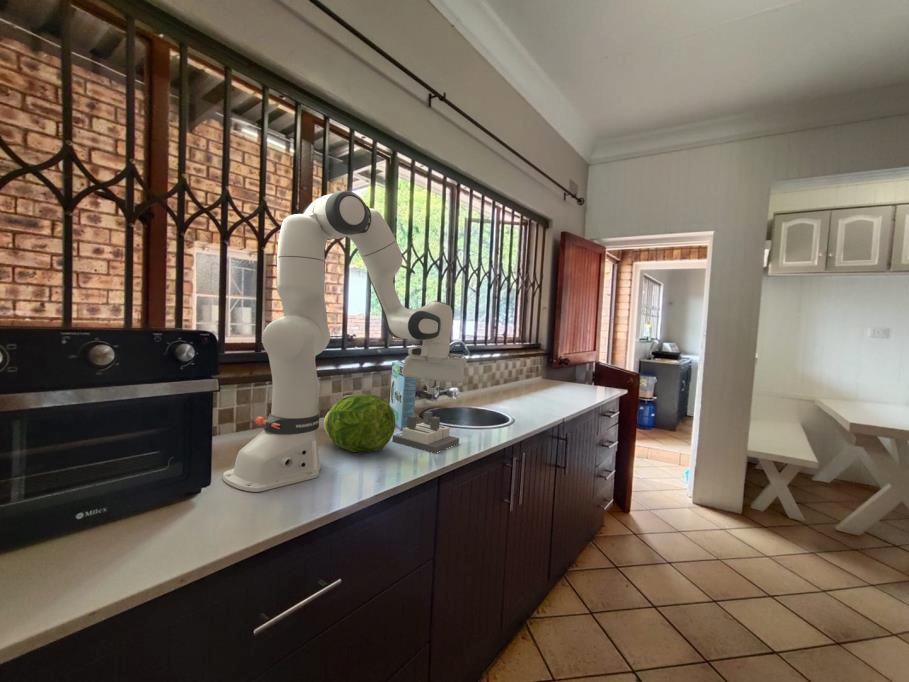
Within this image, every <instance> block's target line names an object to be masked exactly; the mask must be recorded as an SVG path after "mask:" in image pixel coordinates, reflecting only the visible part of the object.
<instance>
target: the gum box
mask: <svg viewBox="0 0 909 682" xmlns="http://www.w3.org/2000/svg"><path fill="white" fill-rule="evenodd" d="M403 365H404V362H403V361H391V376H390V377H391V381H390V393H389V395H390V397H389V405H390V406H391V408H392V410H393V412H394V415H395V426H396V427H397V428H399V430H401V431H403V428H406V427H407V418H408V416H411V415H413V416H415V406H416V391H417V389H416V388H417V378H410V377H404V376H403V375H402V370H403Z"/></svg>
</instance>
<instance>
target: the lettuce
mask: <svg viewBox="0 0 909 682" xmlns="http://www.w3.org/2000/svg"><path fill="white" fill-rule="evenodd" d="M352 395H353V396H348V397H345V398H343V397H342V398H341V399H340V400H338V401H337V402H336V403H335V404H333V405H332V406H331V408H330V410H329V411H327V413H326V415H325V417H324V419H323V429H324V431H325V433H326V434H327V436H328V438H329V439H330V440H331V441H332V442H333V443H334V444H335V445H336V446H337V447H340V448H341V449H345V450H346V451H350V452H352V453H357V454H361V453H362V454H363V453H365V454H366V453H370V452H375V451H378V450H381V449H383V448H384V447H385V446H386V445H387V444H388V443H389V442H390V440H391V439H392V438H393V435H394V433H395V429H396V424H395V415H394V412H393V410H392V408H391V406H390V403H389V402H388V401H387V400H386V399H384V398H382V397H380V396H378V395H376V394H371V393H359V394H352Z"/></svg>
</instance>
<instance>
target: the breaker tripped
mask: <svg viewBox="0 0 909 682" xmlns="http://www.w3.org/2000/svg"><path fill="white" fill-rule="evenodd" d="M440 423H441V417H438V416H432V418H431V424H430V429H433V430H436V429H439V426H440V425H441V424H440Z"/></svg>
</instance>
